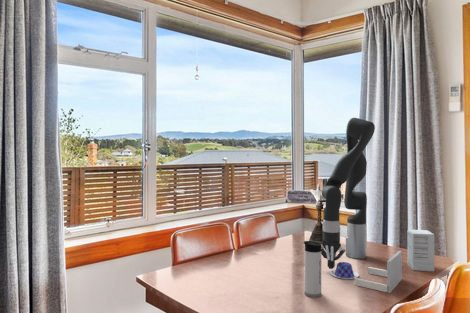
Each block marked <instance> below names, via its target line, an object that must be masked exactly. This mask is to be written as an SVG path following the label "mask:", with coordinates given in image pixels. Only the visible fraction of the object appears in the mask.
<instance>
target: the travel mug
mask: <svg viewBox="0 0 470 313" xmlns="http://www.w3.org/2000/svg"><path fill="white" fill-rule="evenodd" d="M303 244H304V295H305V296H307V297H311V298H319V297H321V296H322V254H321V244H320V243H318V242H313V241H309V240H305V241H303Z"/></svg>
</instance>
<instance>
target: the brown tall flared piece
mask: <svg viewBox="0 0 470 313" xmlns="http://www.w3.org/2000/svg"><path fill="white" fill-rule="evenodd" d="M316 186H317V188H316V189H313V188H310V189H309V191H310V193H311V194H312V196H314V199H315V200H316V201H315V204H314V205H315V210H317V211H316V212H317V214H316V215H317V216H316V218H317V220H316V221H317V222H316V223H315V224H314V228H313V229H312V231H311V235H310V236H309V238H308V241H313V242H318V243H320V244H322V242H323V222H322V218H323V215H322V211H323V210H324V205H325V204H324V203H326V199H325V198H324V197H323V196H322V190H323V189H322V190H321V185H320V184H319V183H318V184H317V185H316Z"/></svg>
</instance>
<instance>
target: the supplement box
mask: <svg viewBox="0 0 470 313" xmlns="http://www.w3.org/2000/svg"><path fill="white" fill-rule="evenodd" d="M406 264H407V265H408V266H409V267H410V269H411V270H412V271H422V272H435V234H434V233H432V232H431V231H430V230H427V229H407V262H406Z"/></svg>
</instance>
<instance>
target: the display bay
mask: <svg viewBox="0 0 470 313" xmlns="http://www.w3.org/2000/svg"><path fill="white" fill-rule="evenodd" d="M402 270H403V250H398V251H397V252H395V254H393V255H392V256H391V257H390V258H389V259H388V260H387V262H386V269H382V268H377V267H370V266H368V268H367V273H368V274H370V275H375V276H380V277H386V284H385V283H380V282H377V281H376V282H375V281H373V280H366V279H362V278H359V277H357V278H354V286H359V287H362V288H367V289H371V290H375V291H379V292H383V293H388V294H391V293H392V291H394V289H395V288H396V287H397V286H398V284H399V283H400V282H401V281H402V280H403V271H402Z"/></svg>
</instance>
